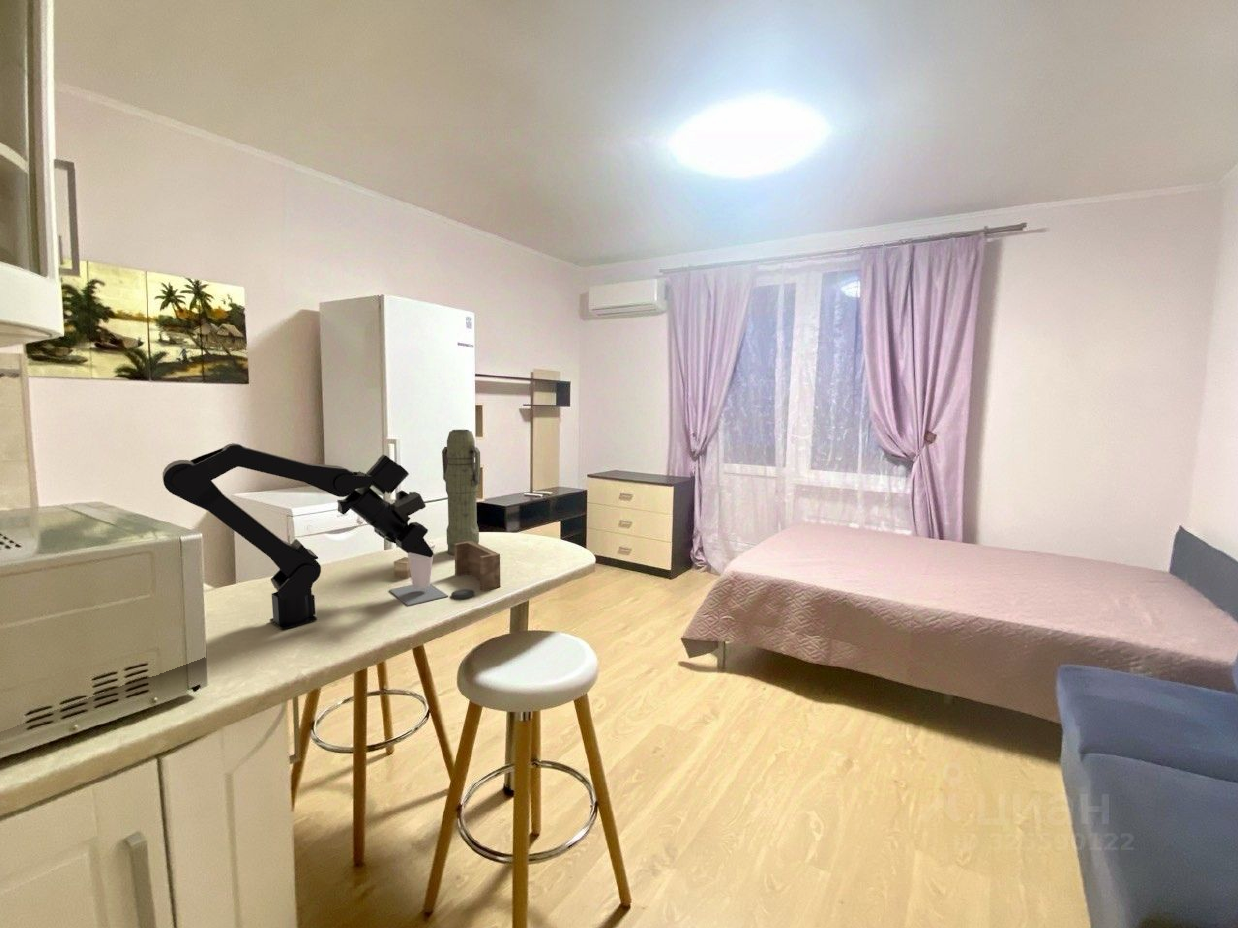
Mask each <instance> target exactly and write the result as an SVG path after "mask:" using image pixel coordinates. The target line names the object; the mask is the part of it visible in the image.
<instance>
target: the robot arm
mask: <svg viewBox="0 0 1238 928" xmlns="http://www.w3.org/2000/svg"><path fill="white" fill-rule="evenodd" d="M235 468H244V469H248V470H252V471H255V472H256V471H257V472H260V473H263V474H268V475H272V476H273V475H274V476H277V477H281V478H285V479H289V480H294V481H297V482H298V481H299V482H302V483H306V484H308V485H310V486H312V487H314V488H316V489H319V490H321V491H323V492H327V493H328V494H331V495H333V496H335V497H339V498H343V499H337V501H336V503H337V512H338V513H340V514H342V515H346V514H347V513H348V512H349V511H350V510H351V511H353V513H354V514H357V516H359V517H360V518H361V519H363V520H364V522H366V523H367V524H368V525H370V526H372V527H373V532H375V534H377V535H378V536H380V537H381V538H383V539H385V540H386V541H388V542H389V543H393V544H395V545H396V546H397V547H398V548H399V549H400V550H402V551H403V552H404V553H405V552H406V554H408V553H409V552H410V553H415V554H419V555H423V556H427V557H432V556H433V557H434V555H435V552H434V551H432V550H431V548H430V547H429V546H428V544H427V543H426V541H427V540H425V536H426V534H428V532H429V529H428V528H427V527H425V526H423V525H424V524H421V523H419V522H418V521H413V522H412V521H411V522H409V521H410V520H411V517H410V516H412V515H413V514H415V513H416V512H418V511H419V510H420V511H421V510H424V509H425V508H426V506H427V505H426V503H425V501H424V499H423V497H422V495H421V494H420V493H418V492H417V491H413V492H412V491H409V493H408V492H406V491H404V490H400V491H398V492H396V496H395V497H396V498H395V500H394V502H393V503H390V502H389V501H387V500H385V498H383V497H382V496H380V495H379V494H378V493H377V492H379V493H380V494H381V495H383V496H384V495H385V494H386V493H387V494H390V495H391V494H393V492H394V491H396V489H397V488H398V487H399V486H400V485H401V483H403V481H405V479H406V478H407V477H408V476H409V475H410V474H409V472H408V470H406V469H405V468H404V466H402V465H401V464H398V463H397V462H396V461H394V460H393V459H391V458H390V457H388V456H387V455H385V454H381V456H380V457H379V458H378V459H377V461H376V462H375V463H374V464H373V465H372V466H371V467H370V468H369V469H368V470H367V472H366V473H365V472H363V471H352V470H350V469H348V468H345V467H343V466H341V465H332V464H324V463H323V464H321V463H308V462H303V461H300V460H296V459H292V458H288V457H284V456H280V455H277V454H272V453H269V452H265V451H261V450H257V449H253V448H251V447H250V448H249V447H246V446H243V445H242V444H240V443H228V444H226V445H224V447H220V448H218V449H216V450H214V451H211V452H207V453H206V454H202V455H200V456H197V457H195V458H192V459H190V460H189V459H177V460H173V461H171V462H170V463H168V464H167V465H166V466H165V468H163V469H164V470H163V471H162V482H163V485H164V487H165V489H166V490H167V491H168V493H171V494H172V495H174V496H176V497H178V498H180V499H182V500H184V501H186V502H187V503H190V504H192V505H194V506H196V507H199V508H201V509H203V510H205V511H208V512H209V513H210V514H212V516H214V517H215V518H216V519H218V520H219V521H221V522H222V523H223V524H224V525H226V526H227V527H229V528H230V529H231V530H233V531H234V532H235V533H237V534H238V535H239V536H241V537H242V538H243V539H244V540H246V541H247V542H248V543H250V544H251V545H253V546H254V547H255V548H257V549H258V550H259V551H260V552H262V553H263V554H264V555H266V556H267V557H269V558H270V559H271V561H272V562H273V563H274V564H275V565H276V566H277V567H278V569H279V570H277V572H276V573H275V574H273V576H272V577H271V578H270V583H272V586H273V587H274V589H275V590H276V591H275V592H273V593H271V606H272V607H271V608H272V617H271V618H270V619H269V622H270V623H271V624H272V625H274V626H276V627H277V628H279V629H280V630H287V629H291V628H295V627H298V626H302V625H304V624H308V623H312V622H315V621H317V620H318V617H317V616H316V601H315V600H316V599H315V598H316V597H315V595H314V594H313V593H312V592H313V590H312V588H313V585H314V583H315V582H316V581H318V580H319V578H320V576H321V573H322V566H321V564H320V562H319V561H318V559H319V557H318V556H317V554H316V553H315V552H313V550H311V549H309V548H306V546H304V545H303V543H301V542H300V540H298V538H295V539H294V540H293V541H292V543H290V542H288V541H286V540H283V539H282V538H280V537H279V536H278V535H276V533H274V532H272V531H271V530H270V529H269V528H267V527H266V526H264V525H263V524H262V523H261V522H260V521H258V520H257V519H256V518H254V517H253V516H252V515H251V514H249V513H248V511H246V510H244V509H243V508H241V506H239V505H238V504H237V503H235V502H234V501H233V500H232V499H230V498H229V497H228V496H227V495H225V494H224V493H223V492H222V491H221V490H220V489H219V488H218V486H217V485H216V484H215V483H214V482H213V480H215V479H218V478H219V477H221V476H223V475H225V474H227V473H228V472H230V471H232V470H233V469H235ZM371 487H373V488H374V489H375V490H376V491H377V492H376V491H375V490H374V489H372V488H371Z"/></svg>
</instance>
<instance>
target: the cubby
mask: <svg viewBox="0 0 1238 928" xmlns="http://www.w3.org/2000/svg"><path fill="white" fill-rule="evenodd" d="M454 552H455V555H454V575H455V576H457V577H459V576H463V575H467V574H468V575H470V576H472V577H474V578H475V579H477V580H479V584H480V585H479V586H480V587H479V589H480V590H481V591H482V592H484V591H483V590H485V591H488V590H493V588H494V589H498V588H501V554H500V553H498V552H496V551H495V550H492V549H490V548H488V547H486V546H484V545H481V544H479V543H478V544H477V543H475V542H473V541H468V542H462V543H456V544H454ZM497 587H498V588H497Z"/></svg>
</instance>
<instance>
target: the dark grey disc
mask: <svg viewBox="0 0 1238 928" xmlns="http://www.w3.org/2000/svg"><path fill="white" fill-rule="evenodd" d="M450 595H451V599H453V600H460V601H461V600H469V599H471V598H474V596H475V591H474V590H473V589H467V588H465V589H464V588H462V589H457V590H454V591H452V592H451V593H450Z"/></svg>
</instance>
